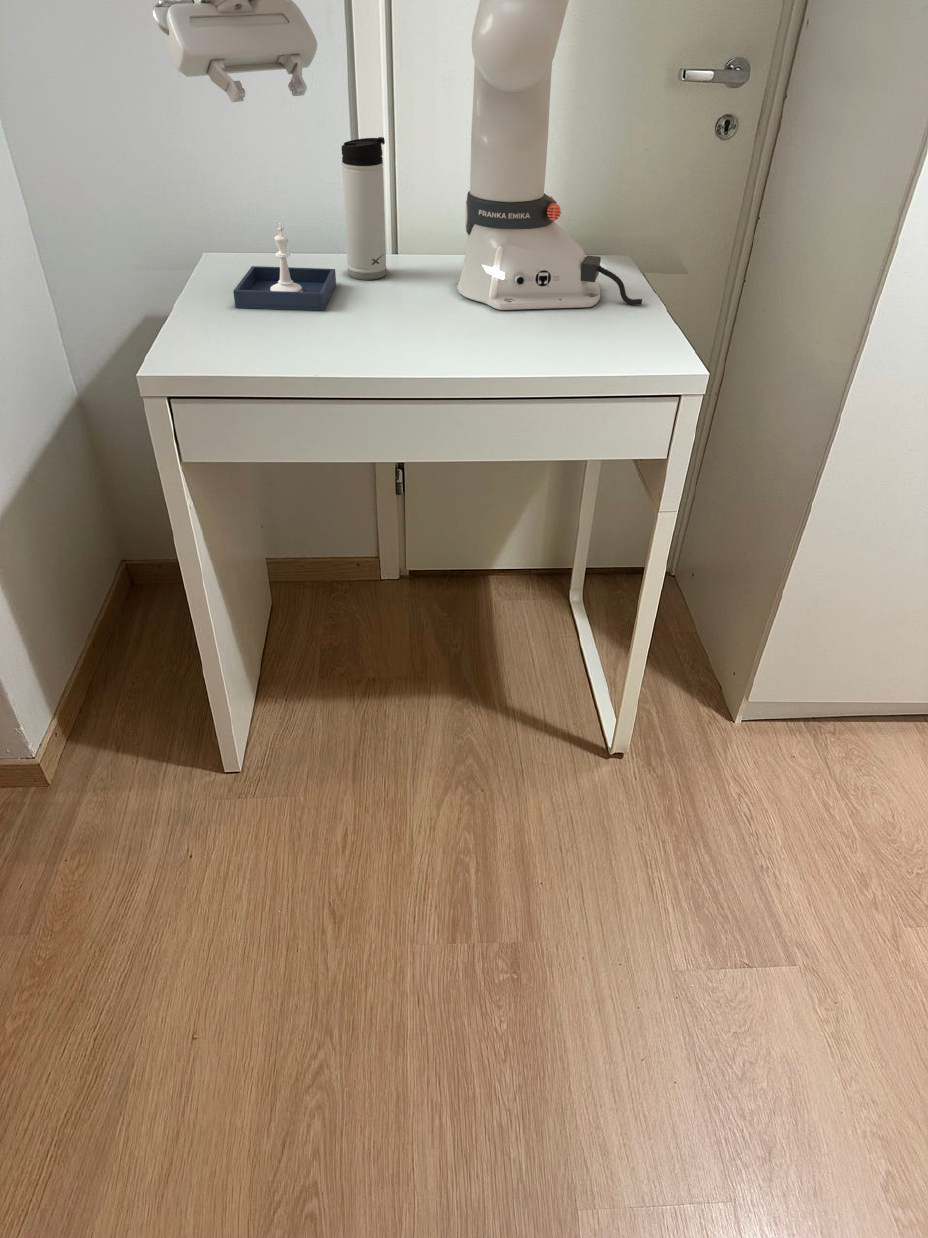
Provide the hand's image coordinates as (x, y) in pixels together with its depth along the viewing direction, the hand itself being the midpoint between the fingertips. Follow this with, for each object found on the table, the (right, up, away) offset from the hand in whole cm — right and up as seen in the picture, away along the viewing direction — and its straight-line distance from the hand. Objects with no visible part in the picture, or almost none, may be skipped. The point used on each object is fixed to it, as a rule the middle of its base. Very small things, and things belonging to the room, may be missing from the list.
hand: (270, 95), depth 115 cm
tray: (-2, -19, +20) cm, 28 cm away
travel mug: (+10, -12, +30) cm, 33 cm away
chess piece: (-2, -18, +20) cm, 27 cm away
